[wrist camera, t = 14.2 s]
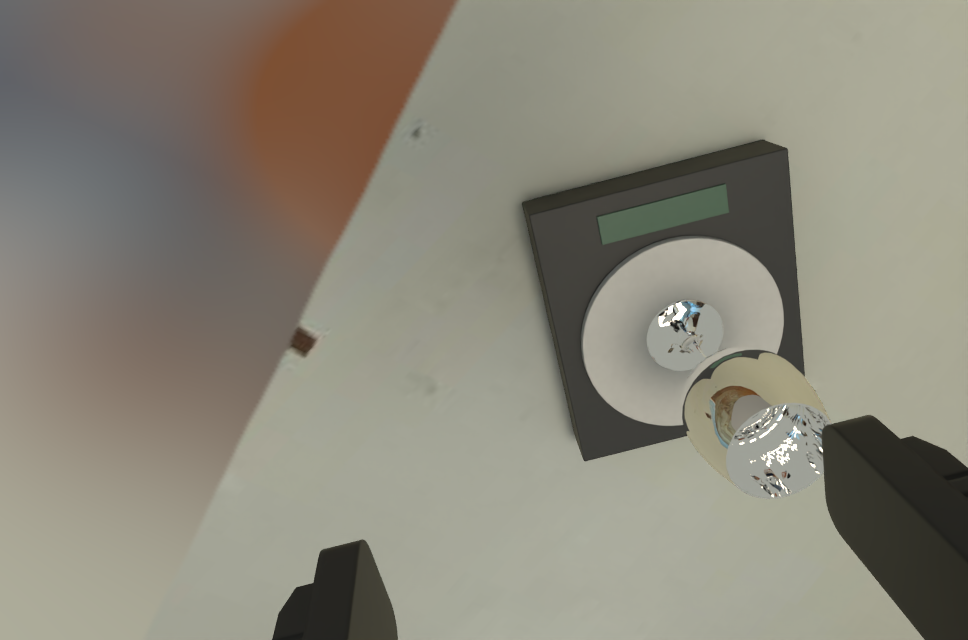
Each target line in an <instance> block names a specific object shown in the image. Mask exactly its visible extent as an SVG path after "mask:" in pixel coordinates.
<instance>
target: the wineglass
mask: <svg viewBox="0 0 968 640" xmlns="http://www.w3.org/2000/svg"><path fill="white" fill-rule="evenodd" d="M723 334H724V326H723V321H722V319H721V316H720V314H719V313H718V311H717V310H716V309H715V308H714V307H712V306H711V305H710V304H709V303H706V302H704V301H701V300H697V299H683V300H679V301H676V302H673V303H671V304H669V305H667V306H665V307H664V308H663V309H662V310H660V311H659V312H658V313H657V314H656V315H655V317H654V318H653V319H652V321H651V323H650V325H649V327H648V330H647V334H646V346H647V350H648V352H649V354H650V356H651V358H652V359H653V360H654V361H655V362H656V363H657V364H658V365H660V366H661V367H663V368H665V369H668V370H672V371H688V370H692V369H693V370H692V371H691V373H690V374H689V376H688V378H687V379H686V382H685V384H684V386H683V389H682V393H681V397H680V413H681V419H682V423H683V426H684V429H685V431H686V434H687V436H688V438H689V440H690V441H691V443H692V444H693V446H694V447H695V449H696V450H697V451H698V452H699V454H700V455H701V456H702V457H703V458H704V460H705V461H706V462H707V463H708V464H709V465H710V466H711V467H712V468H713V469H714V470H715V471H717V472H718V473H719V474H720V475H721V476H723V477H724V478H725V479H727V480H728V481H729V482H731V483H732V484H733V485H735V486H736V487H737V488H739V489H740V490H741V491H743V492H745V493H746V494H749V495H751V496H754V497H758V498H766V499H771V498H781V497H785V496H789V495H792V494H794V493H797V492H799V491H801V490H803V489H805V488H806V487H808V486H810V485H811V484H812V483H813V482H814V481H816V480H817V479H818V478H819V477H820V476H821V475H822V473H823V472H824V466H823V451H822V430H823V428H824V427H825V426H826V425H830V424H832V423H831V421H830V419H829V417H828V415H827V412H826V410H825V408H824V406H823V404H822V402H821V400H820V398H819V397H818V395H817V393H816V392H815V390H814V389H813V387H812V386H811V385H810V383H809V382H808V381H807V379H806V378H805V377H804V375H803V374H802V373H801V372H800V371H799V370H798V369H796V368H795V367H794V366H793V365H792V364H791V363H790V362H789V361H787V360H786V359H784V358H783V357H781V356H779V355H777V354H776V353H774V352H771V351H769V350H766V349H763V348H759V347H754V346H735V347H729V348H725V349H722V350H719V351H718V349H719V347H720V345H721V343H722V340H723Z"/></svg>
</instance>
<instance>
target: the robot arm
mask: <svg viewBox="0 0 968 640" xmlns="http://www.w3.org/2000/svg"><path fill="white" fill-rule="evenodd" d="M822 451H823V466H824V481H825V496H826V503H827V507H828V511H829V514H830V516H831V519H832V521H833V523H834V525H835V527H836V529H837V531H838V532H839V534H840V535H841V536H842V538H843V539H844V540H845V541H846V543H847V544H848V545H849V546H850V548H851V549H852V550H853V551H854V553H855V554H856V555H857V556H858V558H859V559H860V560H861V561H862V563H863V564H864V565H865V566H866V567H867V569H868V570H869V571H870V572H871V574H872V575H873V576H874V577H875V579H876V580H877V581H878V582H879V584H880V585H881V586H882V587H883V589H884V590H885V591H886V592H887V593H888V595H889V596H890V597H891V598H892V600H893V601H894V602H895V603H896V605H897V606H898V607H899V608H900V610H901V611H902V612H903V613H904V615H905V616H906V617H907V618H908V619H909V621H910V622H911V623H912V624H913V626H914V627H915V628H916V629H917V631H918V632H919V633H920V634H921V636H922V637H923V638H924V639H925V640H968V468H967V467H966V466H965V465H964V464H962V463H961V462H960V461H959V460H958V459H956V458H955V457H954V456H953V455H951V454H950V453H949V452H948V451H947V450H945V449H942V448H940V447H938V446H935V445H933V444H931V443H928V442H926V441H924V440H921V439H919V438H917V437H914V436H911V437H907V438H903V439H900V438H898V437H897V436H896V435H895V434H894V433H893V432H892V431H890V430H889V429H888V428H887V427H886V426H885V425H884V424H882V423H881V422H880V421H879V420H878V419H877V418H875V417H874V416H871V415H866V416H862V417H858V418H854V419H850V420H846V421H842V422H838V423H834V424H830V425H826V426H825V427H824V428H823V430H822ZM272 640H398V636H397V626H396V620H395V615H394V611H393V608H392V604H391V602H390V599H389V596H388V594H387V591H386V589H385V586H384V584H383V581H382V578H381V576H380V573H379V571H378V568H377V566H376V563H375V560H374V558H373V555H372V553H371V550H370V548H369V546H368V544H367V542H366V541H365V540H359V541H355V542H351V543H347V544H343V545H339V546H335V547H331V548H327V549H323V550H321V552H320V554H319V558H318V563H317V568H316V573H315V578H314V583H312V584H308V585H304V586H300V587H296V589H295V590H294V592H293V593H292V594H291V596H290V597H289V599H288V600H287V602H286V603H285V605H284V606H283V608H282V609H281V611H280V612H279V614H278V618H277V622H276V626H275V631H274V635H273V639H272Z"/></svg>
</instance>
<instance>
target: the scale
mask: <svg viewBox="0 0 968 640" xmlns="http://www.w3.org/2000/svg"><path fill="white" fill-rule="evenodd" d="M522 205H523V210H524V214H525V218H526V223H527V227H528V232H529V236H530V240H531V245H532V249H533V254H534V258H535V262H536V267H537V271H538V276H539V280H540V284H541V289H542V293H543V298H544V302H545V306H546V311H547V315H548V320H549V324H550V328H551V333H552V337H553V342H554V346H555V350H556V355H557V359H558V364H559V368H560V372H561V377H562V381H563V386H564V390H565V394H566V399H567V403H568V408H569V412H570V416H571V421H572V425H573V430H574V434H575V438H576V440H577V443H578V446H579V449H580V451H581V454H582V457H583V460H584V461H588V460H592V459H596V458H600V457H604V456H608V455H612V454H616V453H620V452H624V451H628V450H632V449H636V448H640V447H644V446H648V445H652V444H656V443H660V442H664V441H668V440H672V439H676V438H680V437H684V436H687V434H686V431H685V429H684V426H683V423H682V419H681V413H680V397H681V393H682V389H683V386H684V384H685V382H686V379H687V378H688V376H689V374H690V373H691V371H692V370H693V369H692V370H688V371H672V370H668V369H665V368H663V367H661V366H660V365H658V364H657V363H656V362H655V361H654V360H653V359H652V358H651V356H650V354H649V352H648V350H647V346H646V334H647V330H648V327H649V325H650V323H651V321H652V319H653V318H654V317H655V315H656V314H657V313H658V312H659V311H660V310H662V309H663V308H664V307H665V306H667V305H669V304H671V303H673V302H676V301H679V300H683V299H697V300H701V301H704V302H706V303H709V304H710V305H711V306H712V307H714V308H715V309H716V310H717V311H718V313H719V314H720V316H721V319H722V321H723V326H724V334H723V340H722V343H721V345H720V347H719V349H718V351H719V350H722V349H725V348H729V347H735V346H754V347H759V348H763V349H766V350H769V351H771V352H774V353H776V354H777V355H779V356H781V357H783V358H784V359H786V360H787V361H789V362H790V363H791V364H792V365H793V366H794V367H795V368H796V369H798V370H799V371H800V372H801V373H802V374H803V375H804V377H805V372H804V359H803V346H802V333H801V320H800V306H799V293H798V280H797V267H796V254H795V240H794V227H793V214H792V201H791V187H790V174H789V161H788V149H787V148H785V147H782V146H779V145H776V144H773V143H770V142H768V141H765V140H761V141H757V142H753V143H749V144H745V145H741V146H738V147H734V148H730V149H726V150H722V151H718V152H714V153H711V154H707V155H703V156H699V157H695V158H691V159H687V160H684V161H680V162H676V163H672V164H668V165H664V166H660V167H657V168H653V169H649V170H645V171H641V172H637V173H633V174H629V175H626V176H622V177H618V178H614V179H610V180H606V181H602V182H599V183H595V184H591V185H587V186H583V187H579V188H575V189H572V190H568V191H564V192H560V193H556V194H552V195H548V196H545V197H541V198H537V199H533V200H529V201H525V202H523V203H522Z"/></svg>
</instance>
